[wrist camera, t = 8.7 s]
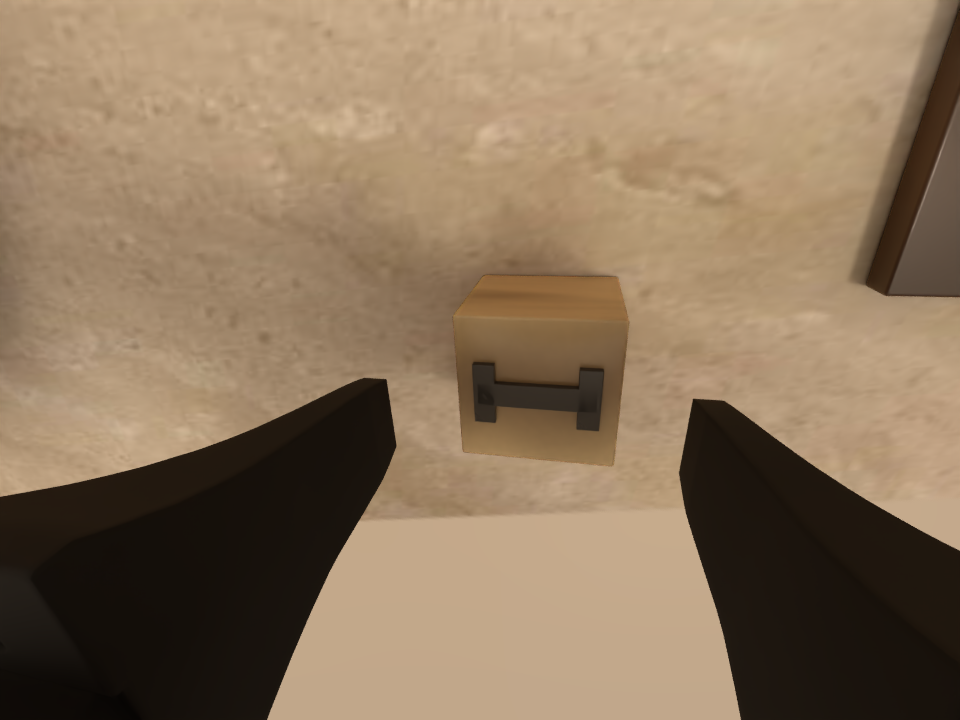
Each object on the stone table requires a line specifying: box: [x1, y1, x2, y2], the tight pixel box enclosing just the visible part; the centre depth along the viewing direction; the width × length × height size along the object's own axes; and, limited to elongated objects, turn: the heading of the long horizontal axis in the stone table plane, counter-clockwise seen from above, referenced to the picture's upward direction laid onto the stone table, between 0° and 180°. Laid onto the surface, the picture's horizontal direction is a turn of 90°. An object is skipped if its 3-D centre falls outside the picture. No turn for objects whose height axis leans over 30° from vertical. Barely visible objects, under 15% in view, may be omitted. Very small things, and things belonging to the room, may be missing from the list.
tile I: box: [453, 275, 629, 466], centre depth 14 cm, size 4×4×4 cm
